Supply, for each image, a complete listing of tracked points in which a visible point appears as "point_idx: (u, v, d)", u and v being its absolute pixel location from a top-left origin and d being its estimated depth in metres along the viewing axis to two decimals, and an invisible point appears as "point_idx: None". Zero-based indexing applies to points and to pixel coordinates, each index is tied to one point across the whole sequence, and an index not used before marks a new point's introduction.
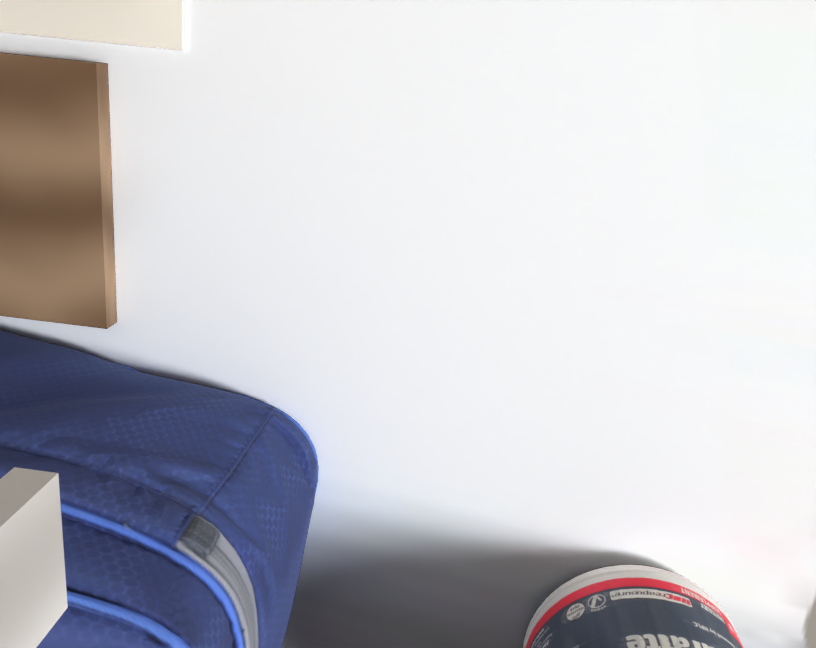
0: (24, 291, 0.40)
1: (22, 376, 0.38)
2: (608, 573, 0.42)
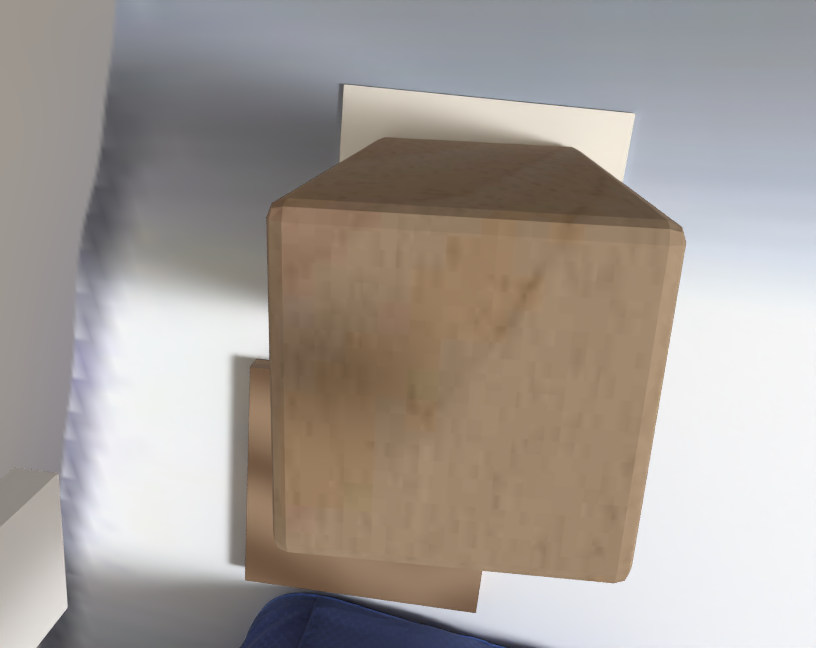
0: (400, 579, 0.43)
1: None
2: None
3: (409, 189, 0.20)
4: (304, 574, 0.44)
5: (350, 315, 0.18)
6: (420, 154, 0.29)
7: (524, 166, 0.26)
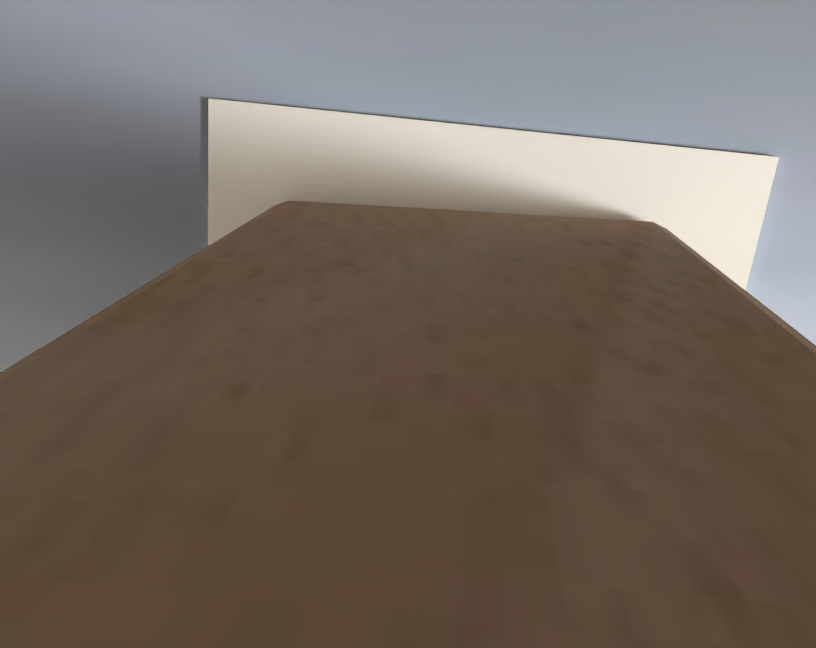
0: None
1: None
2: None
3: None
4: None
5: None
6: (320, 280, 0.11)
7: (596, 349, 0.09)
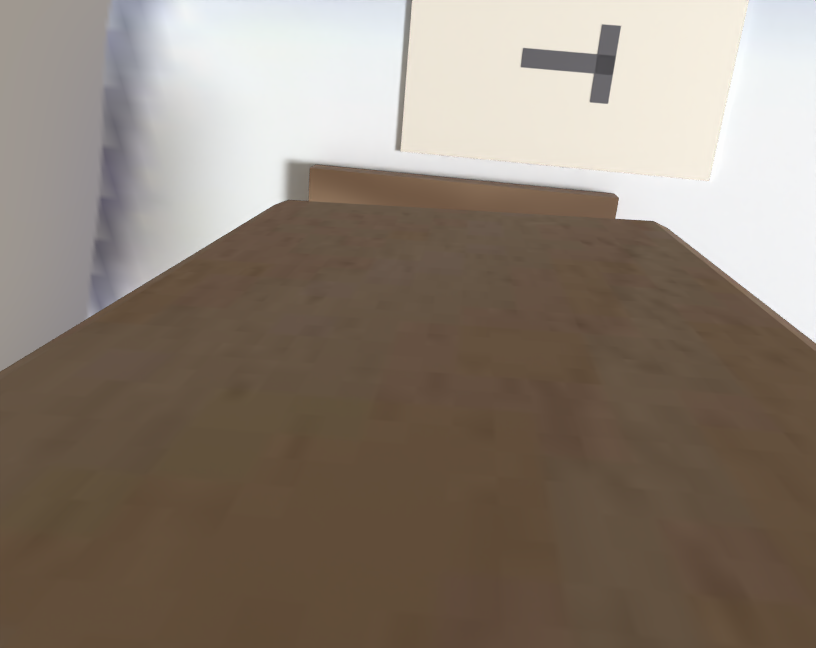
0: None
1: None
2: None
3: None
4: None
5: None
6: (320, 279, 0.11)
7: (598, 348, 0.09)
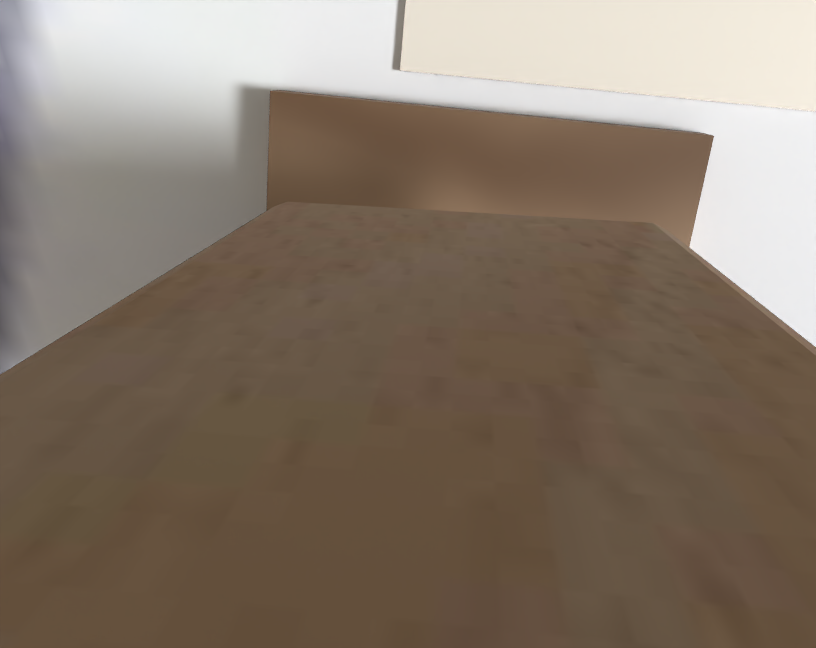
0: None
1: None
2: None
3: None
4: None
5: None
6: (319, 282, 0.11)
7: (597, 351, 0.09)
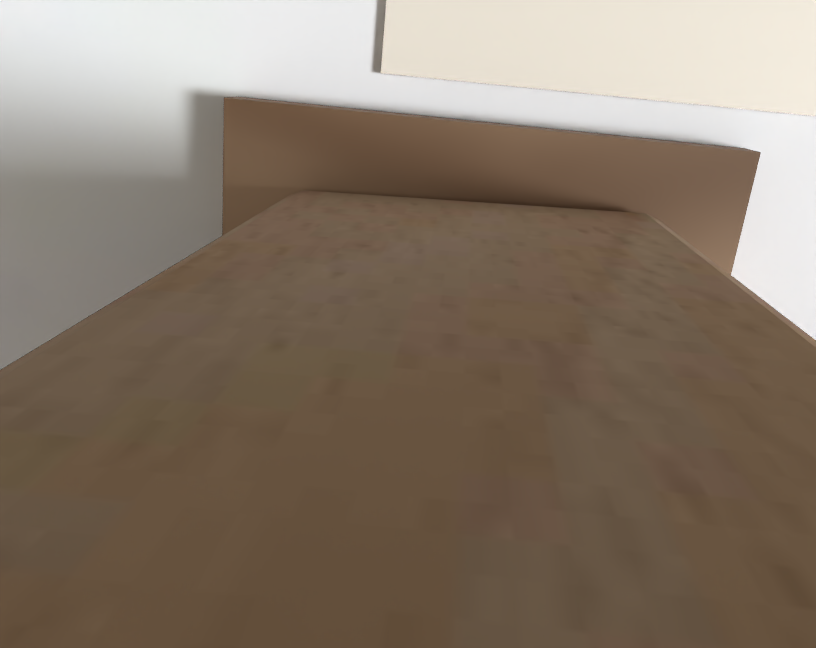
0: None
1: None
2: None
3: None
4: None
5: None
6: (340, 258, 0.13)
7: (590, 317, 0.10)
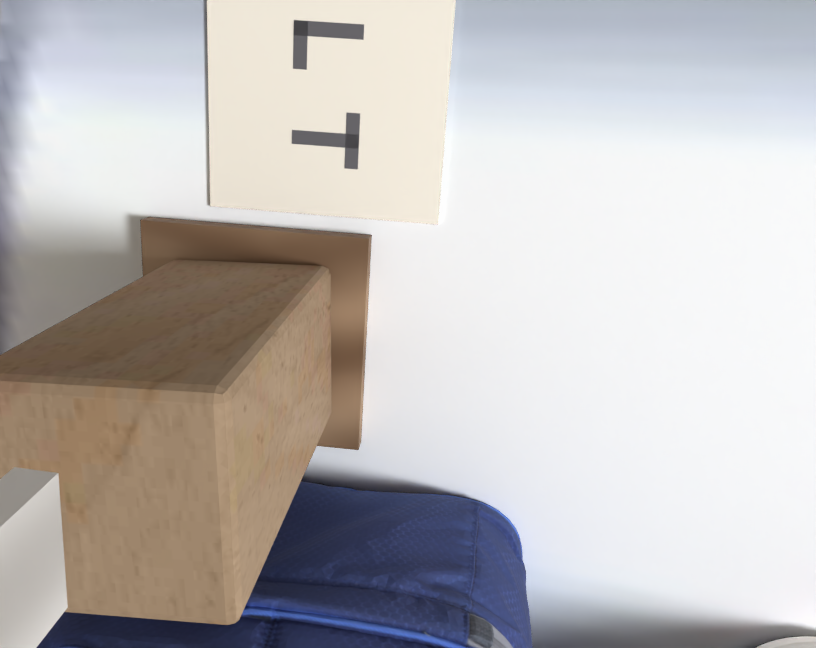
0: None
1: None
2: (788, 645, 0.49)
3: (82, 352, 0.29)
4: None
5: (19, 448, 0.27)
6: (166, 291, 0.37)
7: (226, 307, 0.35)
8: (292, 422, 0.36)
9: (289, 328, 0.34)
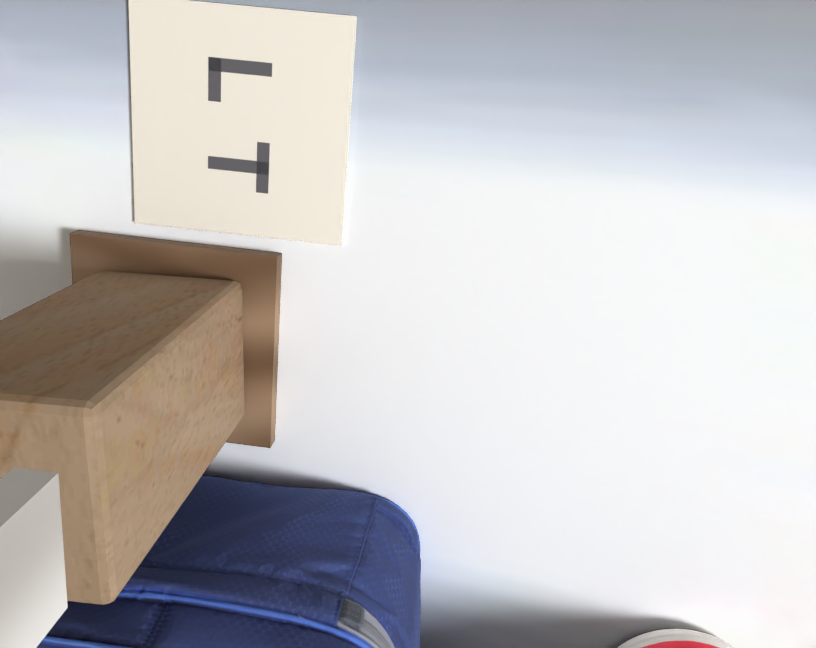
0: None
1: (189, 508, 0.50)
2: (660, 636, 0.54)
3: None
4: None
5: None
6: (79, 304, 0.42)
7: (127, 322, 0.39)
8: (186, 426, 0.40)
9: (181, 344, 0.38)
